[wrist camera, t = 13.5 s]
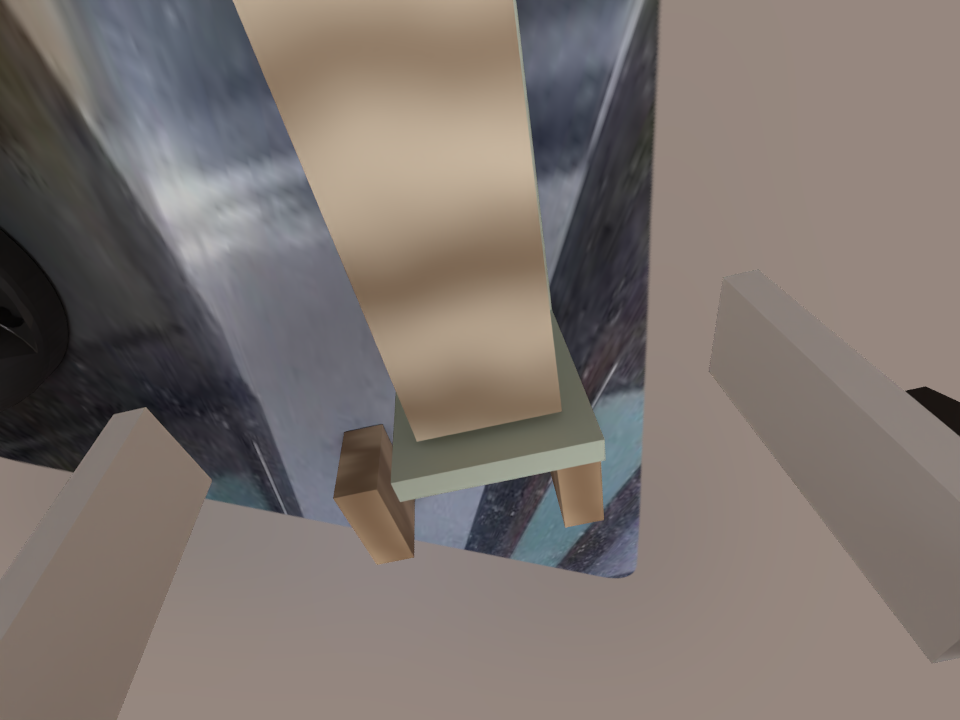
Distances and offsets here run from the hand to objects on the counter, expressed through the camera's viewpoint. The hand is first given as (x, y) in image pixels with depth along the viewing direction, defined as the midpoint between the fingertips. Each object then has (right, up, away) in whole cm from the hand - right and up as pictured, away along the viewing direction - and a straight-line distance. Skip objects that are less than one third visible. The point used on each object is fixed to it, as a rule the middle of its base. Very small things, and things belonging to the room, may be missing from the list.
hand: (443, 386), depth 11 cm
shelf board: (-1, +6, +8) cm, 10 cm away
